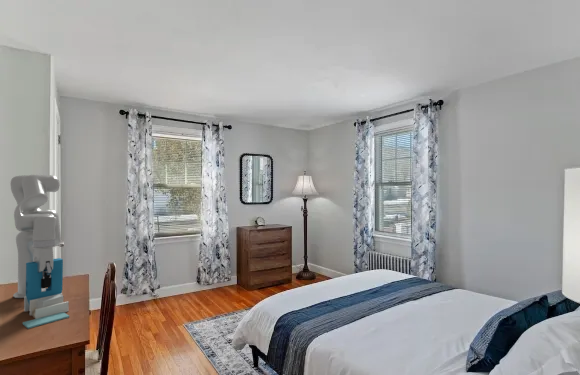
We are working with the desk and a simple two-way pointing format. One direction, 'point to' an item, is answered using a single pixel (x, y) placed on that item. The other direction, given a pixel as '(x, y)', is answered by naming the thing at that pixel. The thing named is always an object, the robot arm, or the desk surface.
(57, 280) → the block
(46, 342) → the desk surface
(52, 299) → the upper offcut
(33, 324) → the mat
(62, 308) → the rack
